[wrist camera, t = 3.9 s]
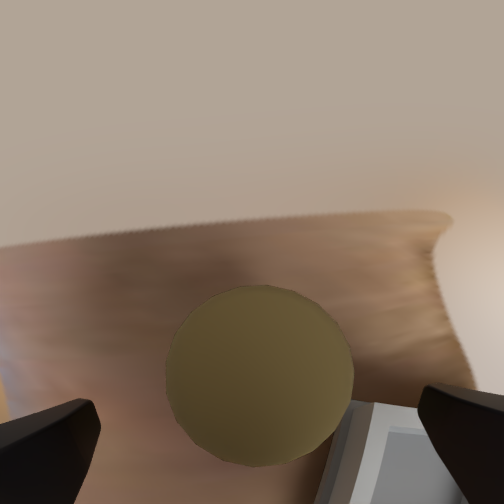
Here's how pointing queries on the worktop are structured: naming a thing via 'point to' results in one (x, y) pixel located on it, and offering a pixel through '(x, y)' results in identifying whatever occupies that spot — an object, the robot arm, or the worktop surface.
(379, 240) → the worktop surface
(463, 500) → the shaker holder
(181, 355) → the cork
